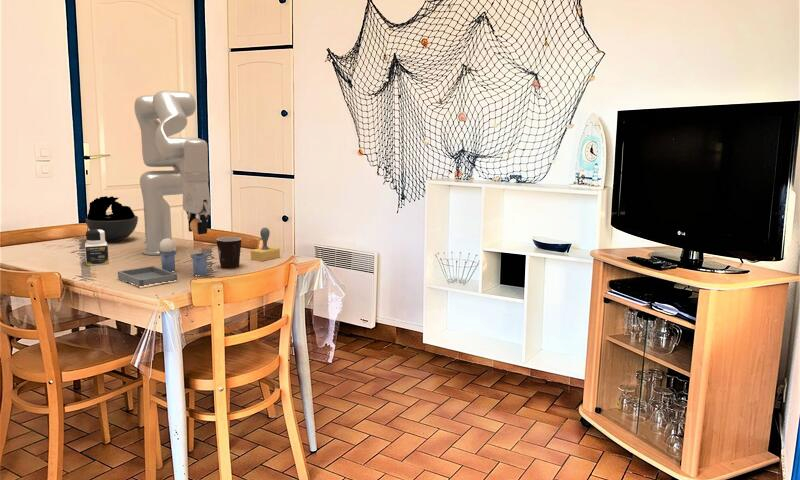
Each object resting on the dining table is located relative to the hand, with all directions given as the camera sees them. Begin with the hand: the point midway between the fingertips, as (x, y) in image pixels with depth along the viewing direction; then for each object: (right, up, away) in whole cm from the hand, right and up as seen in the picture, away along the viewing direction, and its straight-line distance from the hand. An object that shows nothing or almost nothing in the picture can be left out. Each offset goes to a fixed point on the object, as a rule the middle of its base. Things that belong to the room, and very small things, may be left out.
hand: (197, 231), depth 214 cm
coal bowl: (-54, -3, +58) cm, 79 cm away
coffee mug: (+7, -13, +14) cm, 20 cm away
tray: (-14, -16, -6) cm, 22 cm away
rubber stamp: (+16, -10, +30) cm, 35 cm away
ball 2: (0, +2, 0) cm, 2 cm away
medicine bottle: (-42, -11, +17) cm, 46 cm away
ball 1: (-12, -5, +5) cm, 14 cm away
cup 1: (-12, -13, +7) cm, 19 cm away
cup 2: (0, -14, +2) cm, 15 cm away
